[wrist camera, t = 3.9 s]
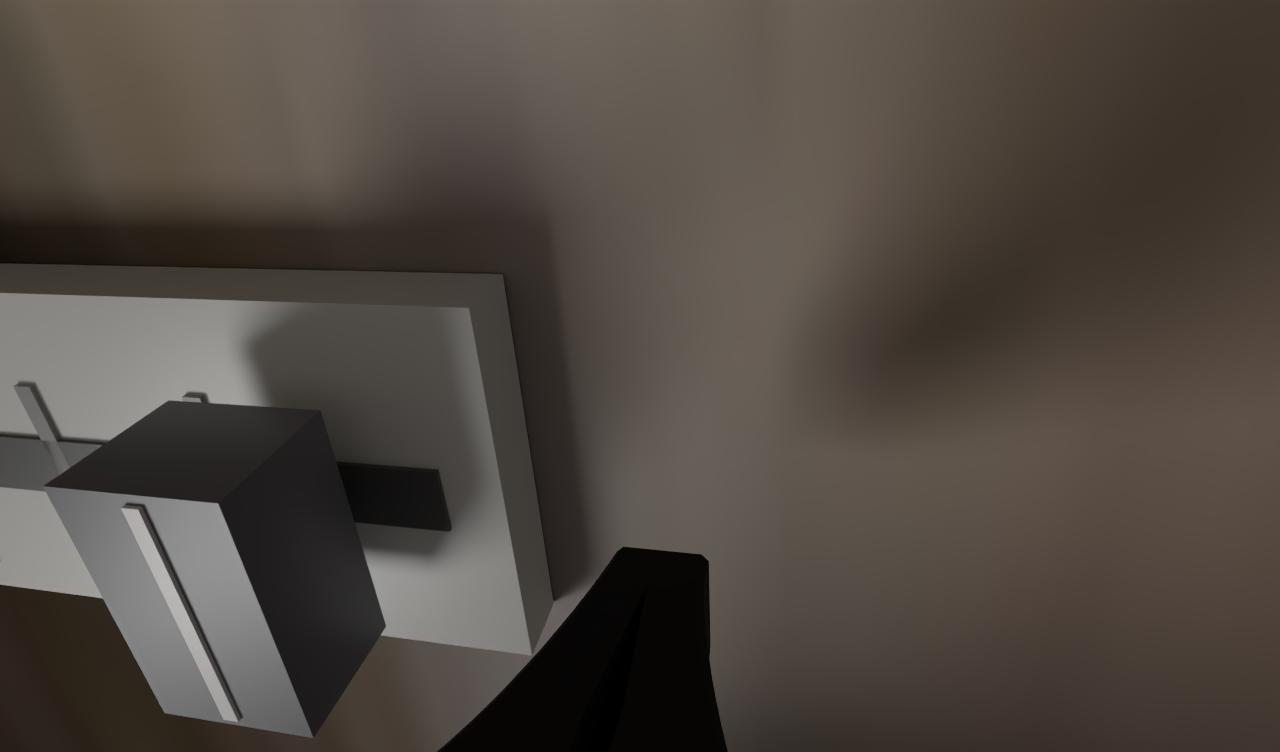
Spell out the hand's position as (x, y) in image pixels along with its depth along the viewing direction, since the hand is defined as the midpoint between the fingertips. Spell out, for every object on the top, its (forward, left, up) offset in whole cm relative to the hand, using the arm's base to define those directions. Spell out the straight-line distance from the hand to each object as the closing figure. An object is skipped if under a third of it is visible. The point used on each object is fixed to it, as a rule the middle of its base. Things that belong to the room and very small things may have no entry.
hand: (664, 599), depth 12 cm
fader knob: (+6, +4, -2) cm, 8 cm away
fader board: (+12, +7, -3) cm, 14 cm away
